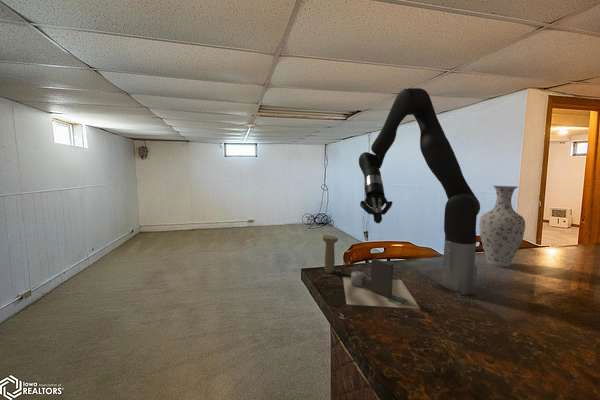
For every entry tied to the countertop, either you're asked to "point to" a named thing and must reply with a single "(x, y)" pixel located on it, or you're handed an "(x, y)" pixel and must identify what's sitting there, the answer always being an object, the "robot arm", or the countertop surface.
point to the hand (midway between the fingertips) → (378, 222)
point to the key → (377, 279)
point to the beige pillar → (329, 253)
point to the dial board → (378, 296)
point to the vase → (501, 229)
